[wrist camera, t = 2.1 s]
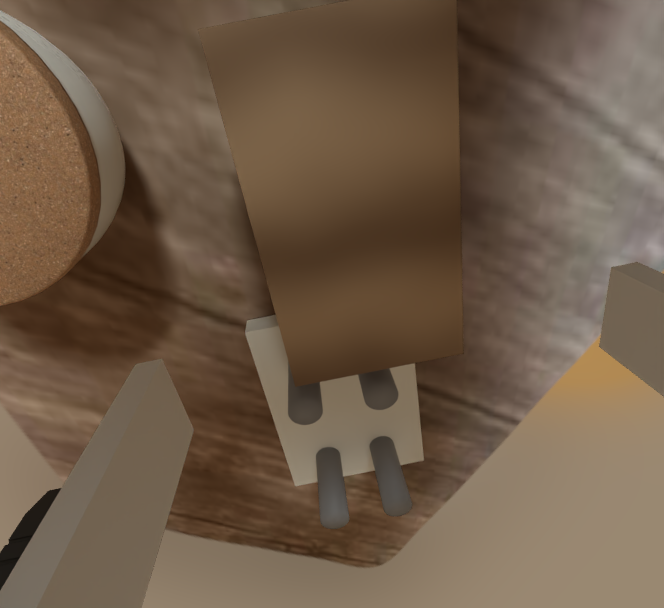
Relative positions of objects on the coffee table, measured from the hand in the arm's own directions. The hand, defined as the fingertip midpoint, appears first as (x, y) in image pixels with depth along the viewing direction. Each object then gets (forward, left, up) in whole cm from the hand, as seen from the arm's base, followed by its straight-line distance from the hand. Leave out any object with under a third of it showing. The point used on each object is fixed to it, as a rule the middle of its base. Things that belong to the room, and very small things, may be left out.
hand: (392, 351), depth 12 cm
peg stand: (+12, -2, -13) cm, 17 cm away
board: (-2, 0, -8) cm, 8 cm away
